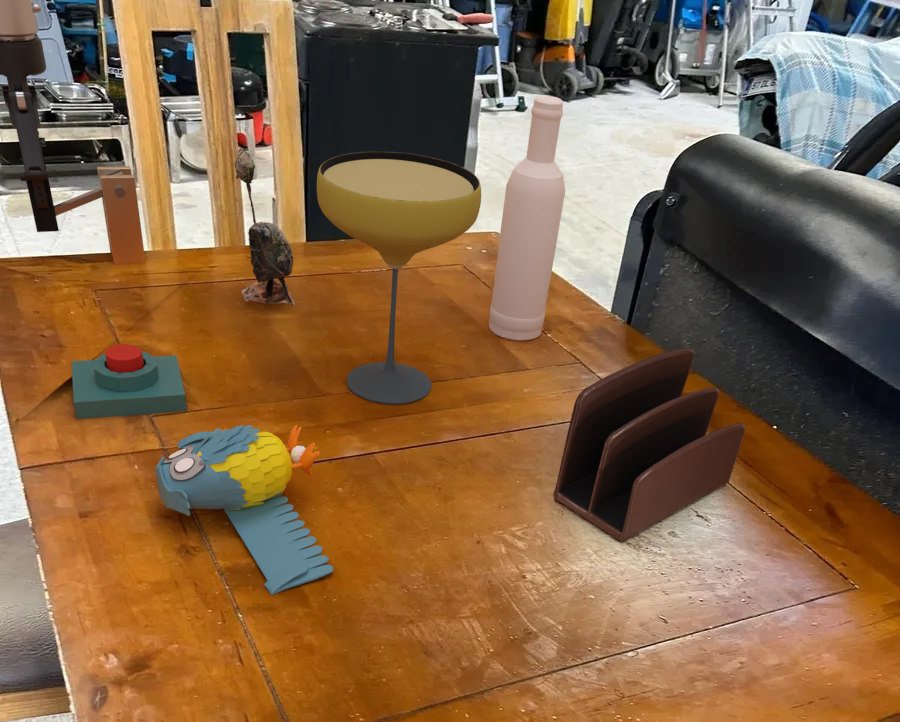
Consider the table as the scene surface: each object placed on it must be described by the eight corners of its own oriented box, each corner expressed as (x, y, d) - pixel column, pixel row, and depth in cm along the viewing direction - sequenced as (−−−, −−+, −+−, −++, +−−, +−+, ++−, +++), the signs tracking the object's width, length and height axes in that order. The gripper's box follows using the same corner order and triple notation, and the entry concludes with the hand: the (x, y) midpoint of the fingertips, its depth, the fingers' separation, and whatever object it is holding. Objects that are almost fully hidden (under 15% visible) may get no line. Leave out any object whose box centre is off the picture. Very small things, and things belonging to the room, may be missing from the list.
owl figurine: (370, 491, 79) (204, 534, 72) (369, 566, 84) (214, 612, 78) (256, 356, 96) (114, 381, 90) (261, 426, 102) (128, 454, 96)
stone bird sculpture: (255, 323, 122) (248, 169, 109) (230, 291, 129) (220, 143, 116) (311, 317, 125) (310, 166, 112) (283, 286, 133) (279, 141, 120)
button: (108, 375, 100) (105, 361, 99) (106, 359, 103) (104, 345, 102) (145, 373, 102) (143, 359, 100) (142, 357, 104) (140, 343, 103)
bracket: (89, 284, 127) (72, 182, 118) (84, 261, 133) (66, 162, 124) (176, 280, 131) (165, 181, 122) (166, 257, 137) (155, 161, 128)
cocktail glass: (486, 382, 115) (512, 179, 99) (405, 436, 103) (420, 214, 87) (375, 339, 122) (383, 141, 106) (287, 384, 110) (281, 169, 94)
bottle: (525, 346, 125) (563, 110, 105) (477, 330, 127) (506, 96, 108) (551, 329, 130) (591, 100, 111) (504, 313, 133) (535, 87, 113)
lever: (44, 232, 122) (34, 215, 120) (42, 219, 126) (32, 202, 124) (133, 196, 123) (125, 179, 121) (128, 183, 127) (120, 167, 125)
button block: (77, 419, 99) (70, 387, 97) (75, 377, 106) (68, 346, 104) (187, 411, 103) (183, 379, 100) (178, 371, 110) (174, 341, 107)
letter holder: (551, 499, 96) (575, 381, 87) (661, 446, 107) (692, 336, 98) (621, 545, 91) (655, 424, 82) (729, 484, 102) (769, 371, 93)
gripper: (46, 57, 102) (81, 244, 116) (35, 17, 119) (66, 184, 132) (-26, 55, 99) (19, 247, 113) (-27, 15, 116) (12, 186, 130)
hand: (44, 214), depth 123 cm, fingers open, 13 cm apart
